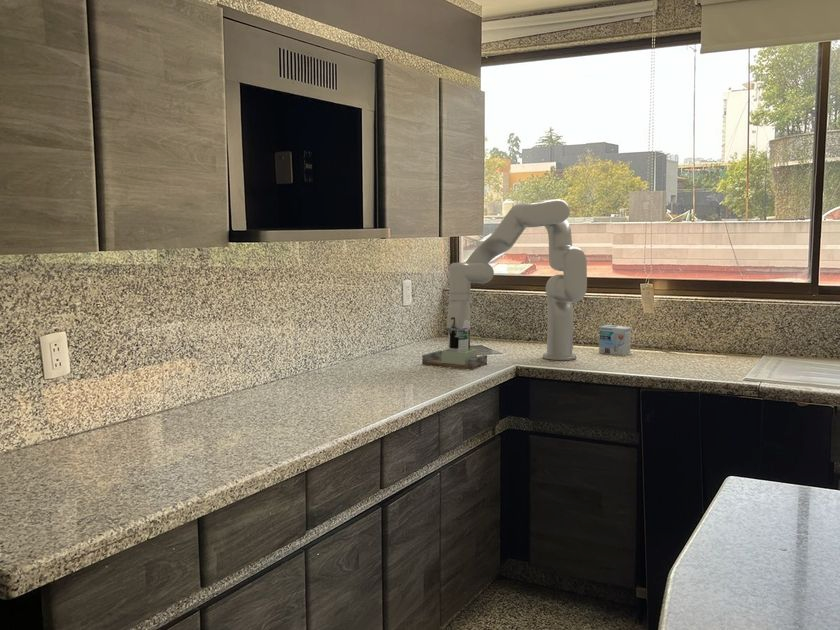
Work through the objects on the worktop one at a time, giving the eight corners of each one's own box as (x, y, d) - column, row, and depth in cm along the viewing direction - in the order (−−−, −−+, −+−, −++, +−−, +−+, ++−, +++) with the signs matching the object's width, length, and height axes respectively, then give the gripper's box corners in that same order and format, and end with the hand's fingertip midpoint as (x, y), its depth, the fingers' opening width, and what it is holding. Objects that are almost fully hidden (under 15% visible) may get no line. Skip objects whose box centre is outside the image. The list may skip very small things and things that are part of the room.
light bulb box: (598, 353, 302) (599, 326, 301) (604, 351, 307) (605, 324, 306) (624, 356, 296) (625, 328, 295) (630, 353, 301) (631, 326, 300)
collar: (454, 358, 282) (454, 347, 282) (476, 361, 277) (477, 349, 277) (441, 362, 274) (441, 350, 274) (465, 365, 269) (465, 352, 269)
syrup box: (457, 361, 272) (457, 321, 270) (447, 359, 276) (448, 319, 275) (470, 360, 275) (470, 319, 273) (460, 357, 280) (460, 318, 278)
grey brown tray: (438, 359, 287) (438, 350, 287) (486, 364, 277) (486, 355, 276) (422, 364, 277) (422, 355, 276) (471, 370, 267) (472, 360, 266)
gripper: (461, 295, 282) (461, 342, 284) (438, 299, 267) (438, 349, 270) (479, 296, 279) (479, 344, 281) (457, 300, 264) (457, 351, 266)
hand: (459, 346), depth 275 cm, fingers closed on syrup box, 7 cm apart
